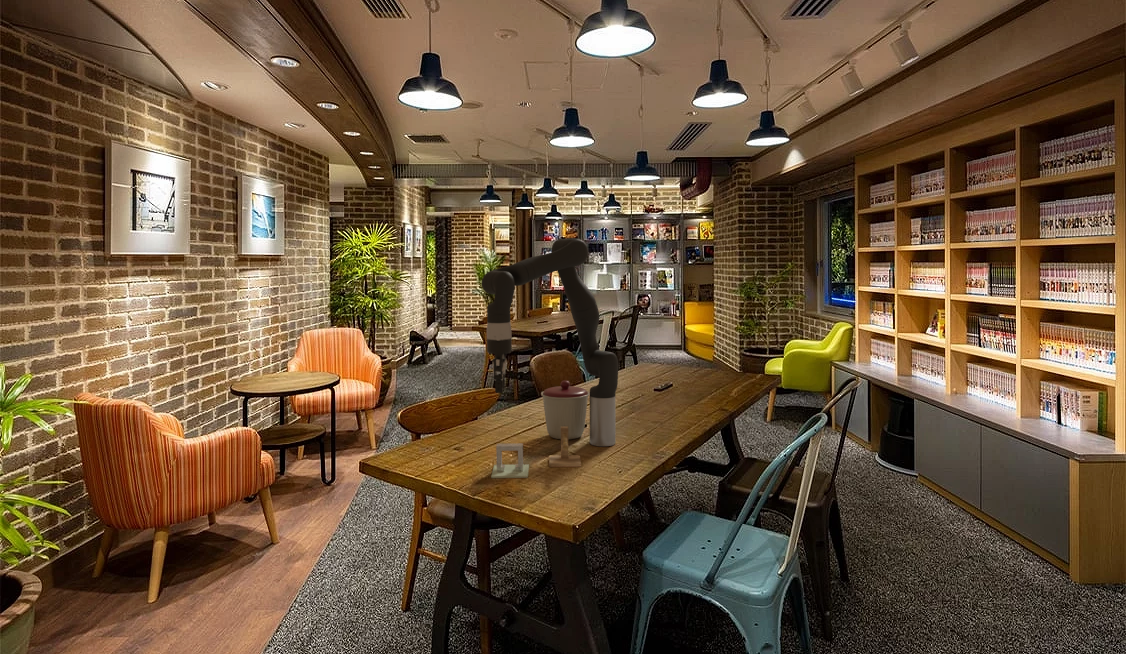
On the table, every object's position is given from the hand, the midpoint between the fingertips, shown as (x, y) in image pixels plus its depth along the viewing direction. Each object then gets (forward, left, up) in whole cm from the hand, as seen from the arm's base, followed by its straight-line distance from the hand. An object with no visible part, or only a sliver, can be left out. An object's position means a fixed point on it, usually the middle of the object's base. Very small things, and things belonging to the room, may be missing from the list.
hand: (500, 389), depth 195 cm
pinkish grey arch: (0, +3, -25) cm, 25 cm away
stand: (-4, +20, -26) cm, 33 cm away
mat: (0, +3, -26) cm, 26 cm away
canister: (-40, +21, -26) cm, 53 cm away
